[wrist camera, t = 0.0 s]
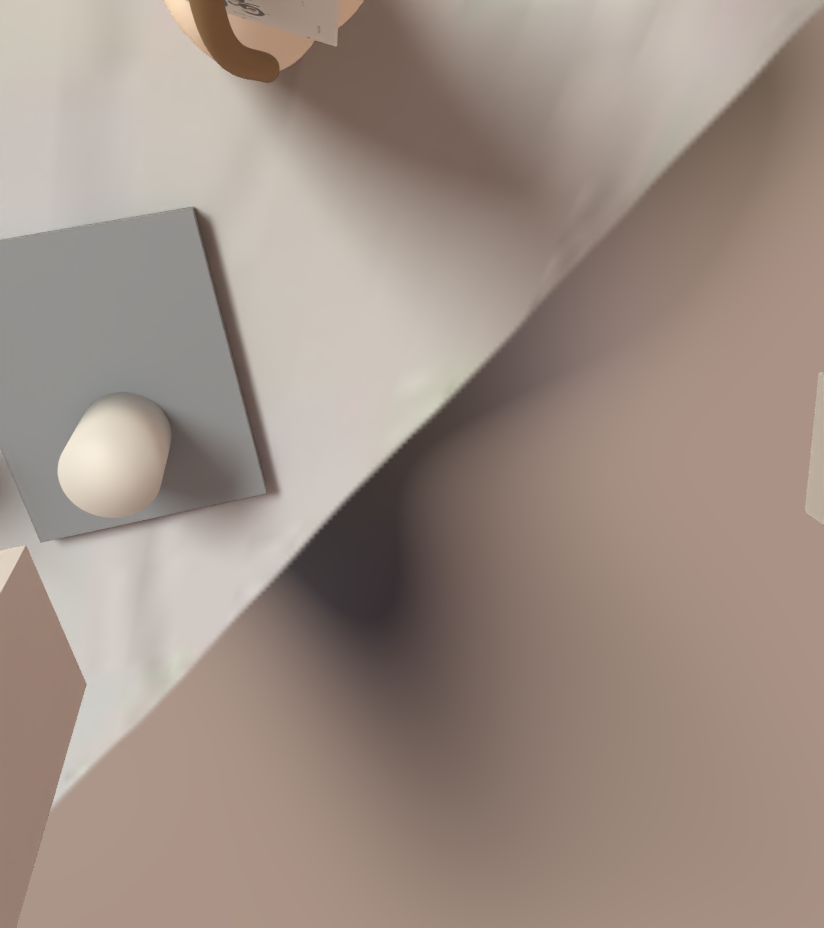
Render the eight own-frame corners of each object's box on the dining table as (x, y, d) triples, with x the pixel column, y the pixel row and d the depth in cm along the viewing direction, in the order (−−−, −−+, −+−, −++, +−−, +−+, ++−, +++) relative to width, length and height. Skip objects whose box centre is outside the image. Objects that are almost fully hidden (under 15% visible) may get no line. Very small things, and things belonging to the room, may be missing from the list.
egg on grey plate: (-73, 252, 34) (-133, 276, 29) (193, 206, 35) (183, 222, 30) (45, 533, 41) (14, 596, 35) (266, 485, 42) (268, 538, 37)
